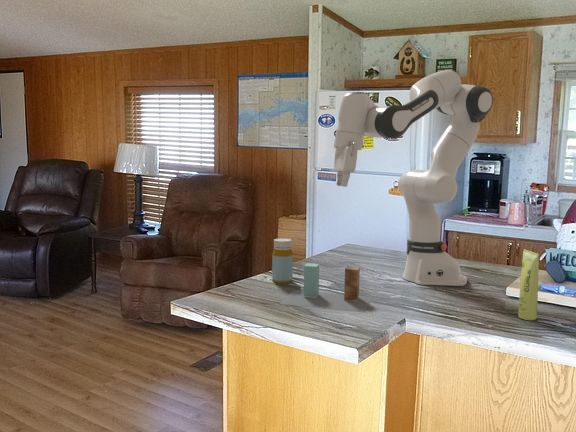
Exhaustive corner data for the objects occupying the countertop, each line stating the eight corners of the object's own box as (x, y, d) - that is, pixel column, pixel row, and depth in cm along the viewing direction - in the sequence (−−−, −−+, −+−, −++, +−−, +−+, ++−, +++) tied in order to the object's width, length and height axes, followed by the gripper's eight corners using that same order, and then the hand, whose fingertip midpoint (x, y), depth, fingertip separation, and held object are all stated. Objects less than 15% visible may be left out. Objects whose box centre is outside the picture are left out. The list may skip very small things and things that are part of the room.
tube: (513, 317, 165) (517, 250, 163) (519, 313, 169) (523, 248, 166) (533, 322, 162) (538, 253, 159) (539, 317, 166) (544, 251, 163)
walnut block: (358, 297, 182) (359, 266, 181) (356, 301, 179) (357, 269, 177) (346, 296, 183) (347, 266, 182) (344, 300, 180) (344, 268, 178)
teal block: (318, 294, 186) (319, 264, 184) (315, 297, 182) (316, 266, 181) (306, 293, 187) (307, 263, 185) (303, 296, 183) (304, 265, 182)
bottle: (290, 285, 198) (290, 242, 196) (270, 283, 200) (270, 241, 198) (294, 280, 205) (294, 238, 203) (274, 278, 207) (275, 237, 204)
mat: (372, 298, 183) (372, 297, 183) (365, 313, 168) (365, 312, 168) (293, 291, 190) (293, 290, 190) (279, 305, 175) (279, 304, 175)
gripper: (364, 142, 172) (357, 188, 173) (352, 146, 192) (346, 187, 193) (343, 139, 172) (336, 185, 172) (334, 143, 192) (327, 184, 193)
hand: (341, 186), depth 183 cm, fingers open, 8 cm apart
